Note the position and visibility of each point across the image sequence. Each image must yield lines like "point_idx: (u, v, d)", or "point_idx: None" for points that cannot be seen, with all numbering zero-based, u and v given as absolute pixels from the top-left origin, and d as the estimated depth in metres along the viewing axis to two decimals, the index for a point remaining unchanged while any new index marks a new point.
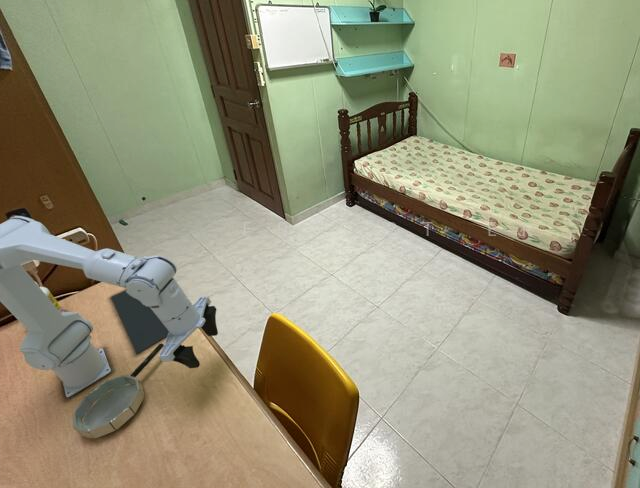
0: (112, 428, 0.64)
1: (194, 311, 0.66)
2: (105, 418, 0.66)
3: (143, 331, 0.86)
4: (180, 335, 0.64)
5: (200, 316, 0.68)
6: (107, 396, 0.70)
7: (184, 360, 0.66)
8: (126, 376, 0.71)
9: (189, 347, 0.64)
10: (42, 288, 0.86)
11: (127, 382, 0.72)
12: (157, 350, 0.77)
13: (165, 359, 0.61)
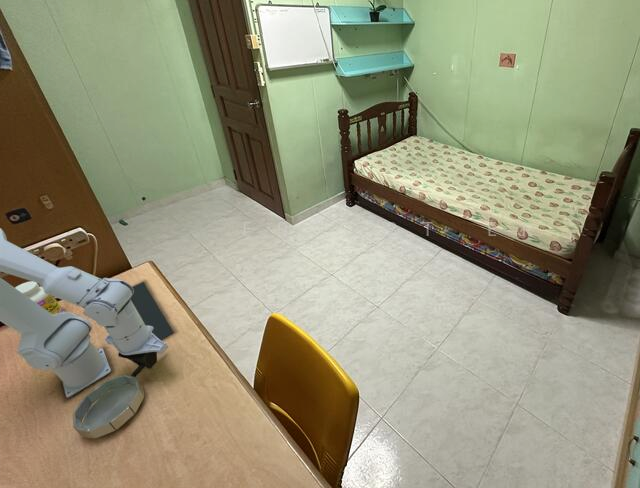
0: (112, 428, 0.64)
1: None
2: (105, 418, 0.66)
3: None
4: (148, 340, 0.72)
5: None
6: (107, 396, 0.70)
7: (148, 360, 0.74)
8: (126, 376, 0.71)
9: None
10: (42, 288, 0.86)
11: (127, 382, 0.72)
12: None
13: (164, 349, 0.71)
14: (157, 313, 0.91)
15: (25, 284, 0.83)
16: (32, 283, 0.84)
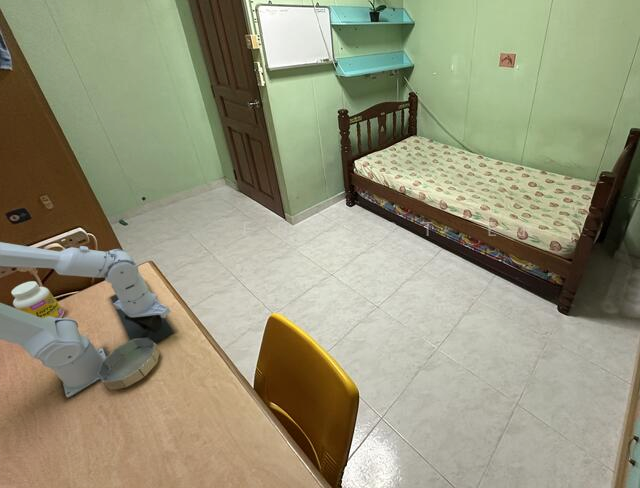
0: (141, 375, 0.73)
1: None
2: (128, 373, 0.75)
3: (143, 331, 0.86)
4: (153, 305, 0.80)
5: None
6: (121, 360, 0.77)
7: (153, 324, 0.82)
8: (136, 339, 0.79)
9: None
10: (42, 288, 0.86)
11: (137, 346, 0.80)
12: None
13: (166, 313, 0.79)
14: None
15: (25, 284, 0.83)
16: (32, 283, 0.84)
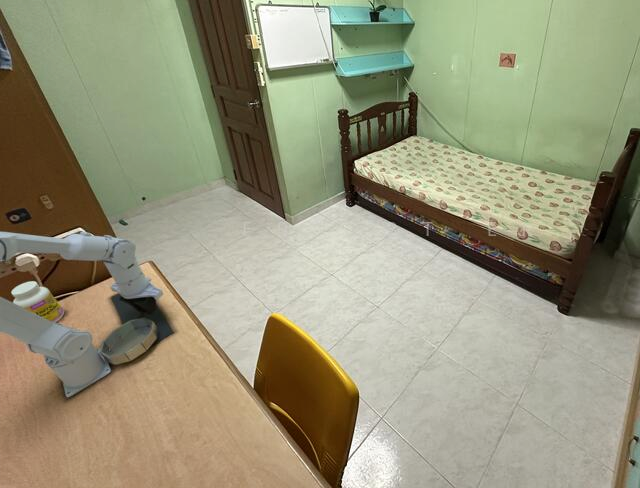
0: (143, 348, 0.79)
1: None
2: (130, 350, 0.80)
3: None
4: (147, 287, 0.85)
5: None
6: (121, 341, 0.82)
7: (148, 306, 0.87)
8: (133, 320, 0.84)
9: None
10: (42, 288, 0.86)
11: (134, 327, 0.85)
12: None
13: (159, 295, 0.84)
14: (157, 313, 0.91)
15: (25, 284, 0.83)
16: (32, 283, 0.84)
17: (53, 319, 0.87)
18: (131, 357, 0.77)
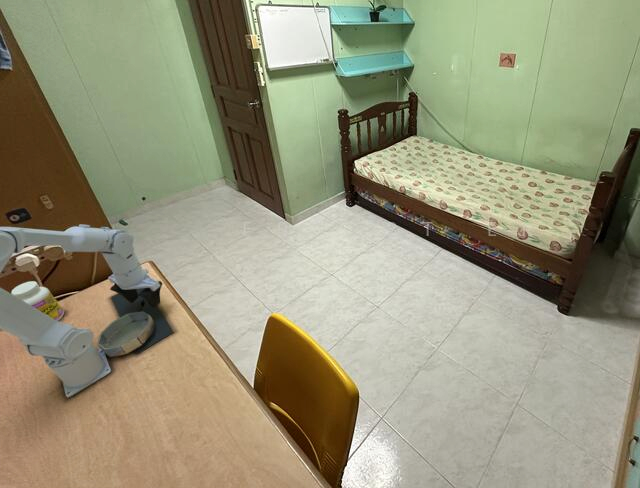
0: (139, 342, 0.80)
1: None
2: (126, 342, 0.82)
3: None
4: (144, 279, 0.86)
5: None
6: (118, 333, 0.84)
7: (152, 299, 0.88)
8: (131, 313, 0.86)
9: None
10: (42, 288, 0.86)
11: (132, 320, 0.87)
12: None
13: (156, 286, 0.86)
14: (157, 313, 0.91)
15: (25, 284, 0.83)
16: (32, 283, 0.84)
17: None
18: (127, 350, 0.79)
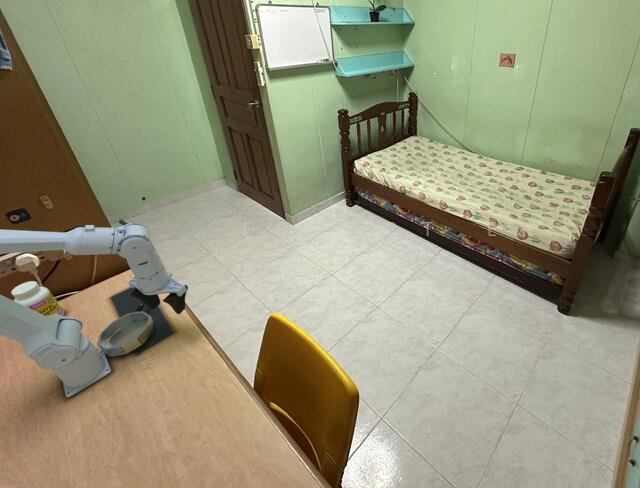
0: (139, 342, 0.80)
1: None
2: (126, 342, 0.82)
3: None
4: (168, 283, 0.78)
5: None
6: (118, 333, 0.84)
7: (177, 304, 0.79)
8: (131, 313, 0.86)
9: None
10: (42, 288, 0.86)
11: (132, 320, 0.87)
12: None
13: (183, 291, 0.77)
14: (157, 313, 0.91)
15: (25, 284, 0.83)
16: (32, 283, 0.84)
17: None
18: (127, 350, 0.79)
